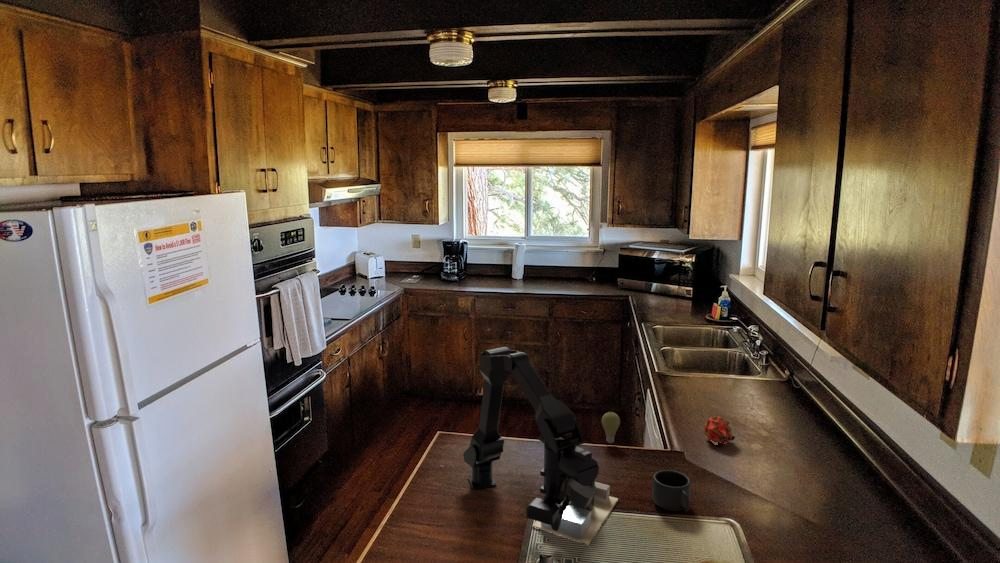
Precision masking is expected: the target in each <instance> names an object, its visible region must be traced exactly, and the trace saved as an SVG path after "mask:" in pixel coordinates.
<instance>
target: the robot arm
mask: <svg viewBox="0 0 1000 563" xmlns="http://www.w3.org/2000/svg"><path fill="white" fill-rule="evenodd" d="M529 359H530V358H529V355H528V354H527V353H526V352H522V351H520V350H515V349H513V350H511V349H510V348H509V347H507V346H502V347H497V348H492V349H487V350H483V351H482V352H480V356H479V360H478V361H479V363H478V364H479V372H480V374H481V375H482V377H483V380H484V382H483V390H482V391H483V392H482V397H481V399H482V401H481V406H480V407H481V408H480V416H479V424H478V428H477V429H476V430H475V431H474V433H473V434H472V435H471V438H470V439H471V440H470V443H469V447H468V448H467V449H466V450H465V451H464V452H463V454H462V456H463V461H464V463H465V464H467V465H468V466H469V467H470V468H471V469H470V470H471V474H470V475H468V476H467V479H468V478H469V479H468V481H469V483H470V485H471V487H472V490H476V489H484V488H490V487H496V486H497V482H496V480H495V478H494V476H493V475H494V474H493V472H494V471H493V470H494V469H493V465H494V464H493V463H494V462H496V461H500V459H501V455H502V453H503V452H504V443H505V440H504V439H503V437H502V436H501V434H500V432H499V423H500V415H501V409H502V408H501V407H502V402H503V401H502V400H503V392H504V386H505V382H507V379H509V377H511V375H512V376H513V378H514V380H515V381H516V383H517V384H518V386H519V387H520V389H521V390H522V392H523V394H524V395H525V397H526V398H527V399H528V401H529V403H530V405H531V406H532V407H533V410H534V413H535V414H534V415H535V419H534V420H535V424H536V426H537V427H538V429H539V431H540V434H541V435H540V436H538V438H537V439H538V440H539V441H540V442H541V443H542V444H544V445H543V468H542V469H541V470H540V471H539V472H540V474H539V475H540V476H542V477H543V485H542V486H541V487H540V488H539V492H540V494H543V495H544V497H543V498H540V497H536V498H534V499H533V500H531V502H530V503H529V504H528V505H527V506H526V507H525V516H526V518H527V519H530V520H532V521H535V522H536V521H539V522H542V523H545V524H548V525H551V527H552V529H553V530H555V531H557V530H558V529H559V526H560V523H561V519H562V516H563V513H564V511H565V509H566V508H567V507H566V506H568V505H569V504H570V503H571V502H573V503H575V504H576V505H578V507H579V508H581V509H586V507H587V506H588V504H589V503H590V502H591V500H592V497H593V495H594V493H595V492H596V486H595V482H596V481H595V480H596V479H597V477H598V475H599V470H600V467H599V464H598V461H597V460H596V459H594V458H593V454H592V452H590V451H589V450H586V449H584V448H582V447H580V446H581V445H583V444H585V438H584V436H583V435H584V433H583V432H582V430H581V428H580V426H579V424H578V421H577V419H576V416H575V414H574V413H573V411H572V410H571V409H570V408H569V407H568V406H567V405H566V403H564V402H563V401H561V400H559V399H558V398H555V397H554V395H552V393H551V392H550V391H549V388H548V387H547V385H546V384H545V383H544V382H543V380H542V378H541V377H540V375H539V374H538V373H537V371H536V369H535V368H534V366H533V364H531V362H530V360H529ZM569 435H572V436H569ZM566 436H569V437H566ZM563 437H566V438H563Z"/></svg>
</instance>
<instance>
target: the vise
mask: <svg viewBox="0 0 1000 563" xmlns="http://www.w3.org/2000/svg"><path fill="white" fill-rule="evenodd" d="M595 486H596V492H595V493H594V507H593V509H592V510H591V525H590V527H589V528H588V529H587V531H586V532H585V534H584V535H583V537H582V538H577V537H574V536H571V535H568V534H565V533H562V532H559V531H555V530H552V529H549V528H546V527H543V526H541V522H539V521H536V520H535V522H533V524H532V526H534V527H536V528H539V529H541V530H545V531H549V532H552V533H554V534H557V535H561V536H564V537H566V538H569V539H572V540H575V541H579V542H582V543H585V544H588V545H589V544H591V543H592V542H591V541H593V540H594V538H595V537H596V535H597V534H598V532H599V531H600V529H601V528H600V527H602V526H603V525H604V523H605V522H606V520H607V519H608V517H609V515H610V514H611V512H612V510H613V509H614V508H615V506H616V504H617V503H618V502H619V498H618V497H615V496H611V495H610V490H611V489H610V484H609V485H608V484H606V483H601V482H597V481H595ZM604 521H605V522H604ZM602 524H603V525H602ZM532 526H531V527H532ZM541 530H540V531H541ZM598 530H599V531H598ZM597 531H598V532H597ZM596 533H597V534H596ZM554 534H553V535H554ZM557 535H556V536H557ZM594 536H595V537H594ZM566 538H565V539H566ZM569 539H568V540H569ZM592 539H593V540H592ZM572 540H571V541H572ZM575 541H574V542H575ZM590 542H591V543H590ZM585 544H584V545H585ZM588 545H587V546H588ZM589 546H590V545H589Z"/></svg>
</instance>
